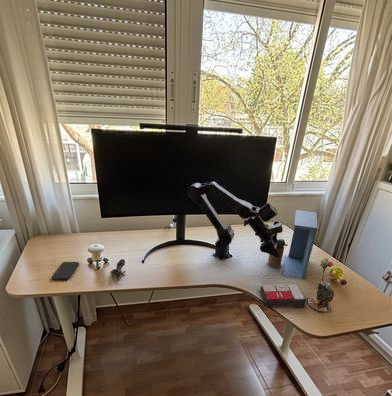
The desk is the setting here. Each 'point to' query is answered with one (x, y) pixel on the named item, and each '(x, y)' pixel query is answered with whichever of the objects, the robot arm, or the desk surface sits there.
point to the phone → (65, 271)
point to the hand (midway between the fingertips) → (279, 253)
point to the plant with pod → (322, 293)
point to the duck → (279, 248)
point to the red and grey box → (282, 295)
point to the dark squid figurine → (119, 269)
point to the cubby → (301, 244)
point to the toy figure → (336, 273)
